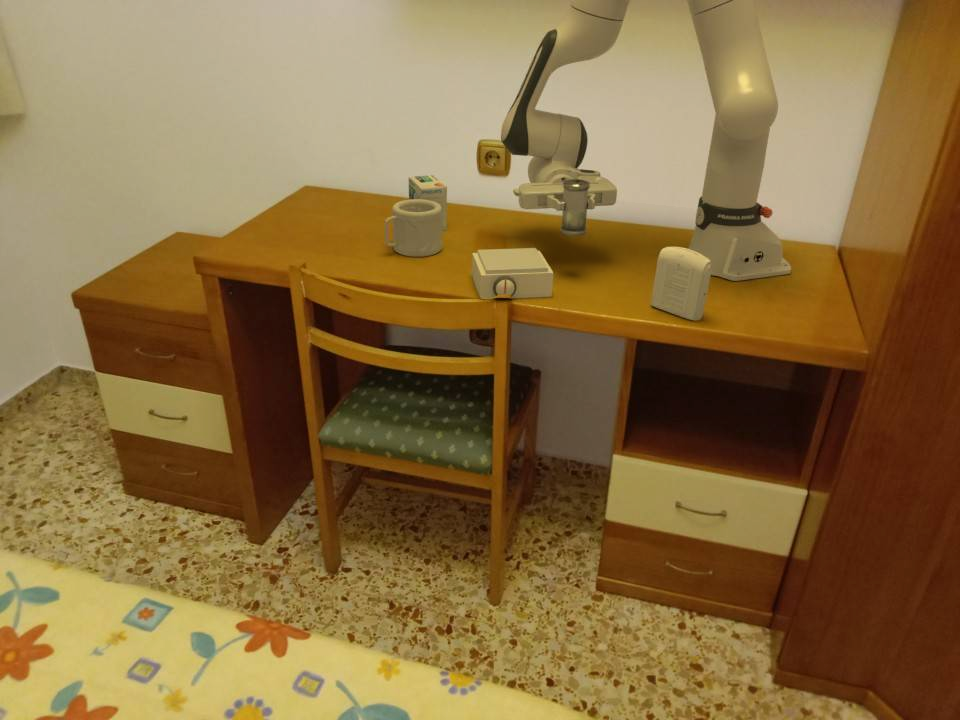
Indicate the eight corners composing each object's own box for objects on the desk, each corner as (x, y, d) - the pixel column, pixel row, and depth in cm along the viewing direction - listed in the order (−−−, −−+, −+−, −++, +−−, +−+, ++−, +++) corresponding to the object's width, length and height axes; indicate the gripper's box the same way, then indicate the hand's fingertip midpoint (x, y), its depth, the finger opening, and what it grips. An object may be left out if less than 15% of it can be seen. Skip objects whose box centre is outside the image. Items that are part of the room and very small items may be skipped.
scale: (538, 273, 157) (539, 246, 154) (553, 298, 145) (555, 270, 142) (471, 275, 154) (472, 249, 152) (481, 301, 143) (482, 273, 140)
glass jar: (582, 226, 155) (585, 178, 150) (589, 235, 150) (593, 185, 145) (557, 228, 154) (560, 179, 149) (564, 236, 149) (566, 187, 145)
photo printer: (706, 316, 140) (718, 254, 134) (695, 323, 137) (706, 260, 131) (658, 300, 146) (667, 239, 140) (646, 306, 143) (655, 245, 137)
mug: (425, 237, 174) (424, 195, 169) (451, 251, 167) (451, 208, 162) (373, 248, 167) (371, 205, 162) (398, 264, 159) (397, 218, 155)
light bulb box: (408, 219, 185) (407, 176, 180) (434, 217, 188) (434, 174, 182) (420, 233, 177) (420, 188, 172) (447, 230, 179) (448, 186, 174)
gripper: (511, 174, 158) (525, 192, 146) (605, 170, 160) (626, 188, 148) (511, 203, 161) (524, 224, 149) (603, 199, 163) (623, 219, 151)
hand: (576, 206), depth 148 cm, fingers closed on glass jar, 5 cm apart
